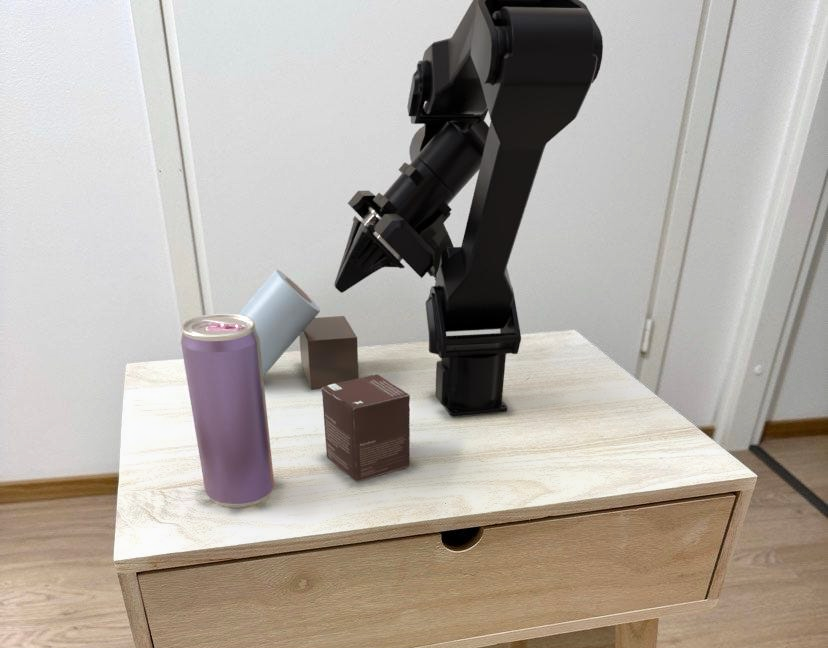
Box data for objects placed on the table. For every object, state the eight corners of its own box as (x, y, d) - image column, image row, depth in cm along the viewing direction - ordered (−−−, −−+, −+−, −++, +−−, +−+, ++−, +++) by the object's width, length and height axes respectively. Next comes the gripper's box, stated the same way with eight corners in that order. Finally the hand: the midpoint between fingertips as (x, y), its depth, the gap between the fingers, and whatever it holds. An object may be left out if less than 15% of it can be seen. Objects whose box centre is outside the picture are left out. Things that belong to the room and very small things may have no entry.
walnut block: (346, 361, 94) (344, 315, 91) (358, 385, 87) (357, 337, 84) (301, 364, 93) (297, 318, 89) (310, 389, 86) (307, 340, 83)
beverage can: (260, 514, 64) (239, 339, 55) (194, 505, 65) (164, 333, 56) (284, 480, 69) (268, 315, 60) (222, 473, 70) (198, 310, 61)
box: (411, 468, 71) (412, 394, 67) (354, 484, 68) (352, 408, 64) (378, 443, 75) (377, 372, 71) (324, 457, 72) (320, 385, 68)
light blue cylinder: (319, 365, 92) (312, 261, 85) (327, 384, 87) (321, 276, 80) (217, 373, 90) (202, 267, 83) (219, 394, 85) (203, 282, 78)
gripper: (510, 251, 78) (406, 363, 82) (457, 216, 93) (371, 312, 97) (440, 168, 72) (330, 293, 76) (394, 145, 87) (305, 250, 90)
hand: (337, 289), depth 85 cm, fingers closed
